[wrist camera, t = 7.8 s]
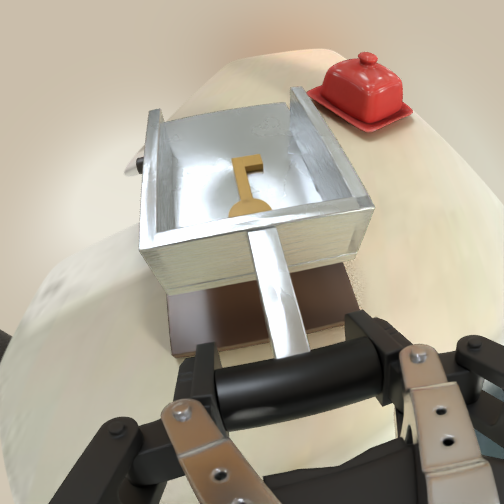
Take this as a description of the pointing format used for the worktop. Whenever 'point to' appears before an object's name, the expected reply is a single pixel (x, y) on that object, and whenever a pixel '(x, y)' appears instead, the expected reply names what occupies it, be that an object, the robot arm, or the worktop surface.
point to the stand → (254, 309)
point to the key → (246, 186)
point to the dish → (260, 244)
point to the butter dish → (362, 93)
